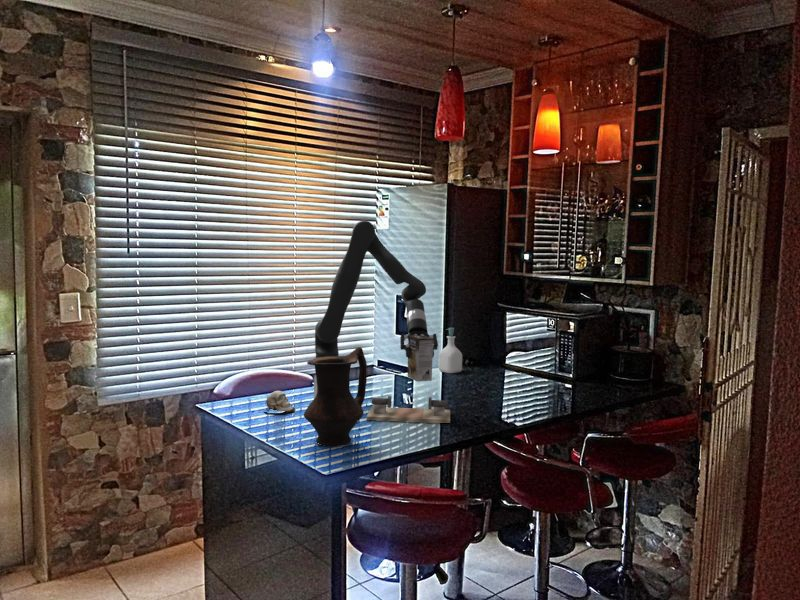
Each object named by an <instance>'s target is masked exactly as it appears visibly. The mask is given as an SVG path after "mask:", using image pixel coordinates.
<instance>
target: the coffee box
mask: <svg viewBox="0 0 800 600" xmlns="http://www.w3.org/2000/svg"><path fill="white" fill-rule="evenodd" d="M408 342H409V344H410V347H409V348H410V359H408V358H407V378H409V379H411V380H413V381H415V382H431V381H432V380H433V377H432V376H433V358H434V357H433V338H430V337H427V336H421V335H409V336H408V339H407V343H408Z"/></svg>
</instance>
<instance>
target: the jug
mask: <svg viewBox="0 0 800 600" xmlns="http://www.w3.org/2000/svg"><path fill="white" fill-rule="evenodd" d="M306 362H307V365H310V366H314V371H315V376H316V380H317V395H316V397H315V399H314V398H313V400H312V401H311V402H310V403H309V405H308V406H307V407H306V409H305V411H304V412H303V417H304V418H305V419H306V421H307V422H308V423H309V424H311V426H312V428H314V431H316V433H317V438H316V440H315V443H316V442H317V443H319V444H321V445H320V446H322V445H325V446H324V447H328V446H331V447H334V446H335V447H342V446H343V445H345V446H346V445H349V444H350V443H351V442H352V438H351V436H350V434H351V433H350V432H352V430H353V428H354V427H355V426H356V425H357V424H358V422H359V421H360V420H361V419H362V417H363V415H364V410H363V403H364V401H365V398H366V389H367V380H368V379H367V377H368V371H367V368H368V365H367V363H368V362H367V360H366V357H365V354H364V350H363V348H362V347H361V346H358V347H356V348H355V349H354V350H353V351H351V352H350V353H349V354H347V355H339V356H335V357H319V358H316V357H314V358H313V359H308V360H307V361H306ZM357 363H358V367H359V368H358V370H359V372H358V373H359V374H358V384H357V391H356V395H355V397H354V396H353V394H352V393H351V390H350V385H351V382H350V381H351V379H350V372H351V366H352V365H355V364H357ZM317 443H316V444H317ZM319 444H318V445H319Z"/></svg>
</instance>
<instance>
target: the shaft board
mask: <svg viewBox="0 0 800 600" xmlns="http://www.w3.org/2000/svg"><path fill="white" fill-rule="evenodd" d="M448 402H449V400H443V399H442V400H440V399H438V400H437V399H436V400H435V399H433V398H432V396H430V397H428V406H427V407H428V408H413V407H411V408H410V407H409V408H408V407H392V395H387V398H386V397H371V405H373V406H371V407H370V409H369V412H367V415H366V421H367V420H376V422H390V421H409V422H408V423H414V422H426V423H425V424H438V423H450V424H451V409H446V408H448V405H449V403H448ZM432 407H433V408H432Z"/></svg>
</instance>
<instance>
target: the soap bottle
mask: <svg viewBox="0 0 800 600" xmlns="http://www.w3.org/2000/svg"><path fill="white" fill-rule="evenodd" d="M445 330H446V331H447V330H448V335H447V336H446V338H447V344H446V346H445V347H444V348H442V349H441V351H440V352H439V353H438V370H439V372H443V373H447V374H455V373H461V372H462V370H463V354H462V352H461V350H459V348H457V347H456V345H455V338H457V337H456V336H455V335H454V332H455V327H448V328H447V329H445ZM453 335H454V336H453Z"/></svg>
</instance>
